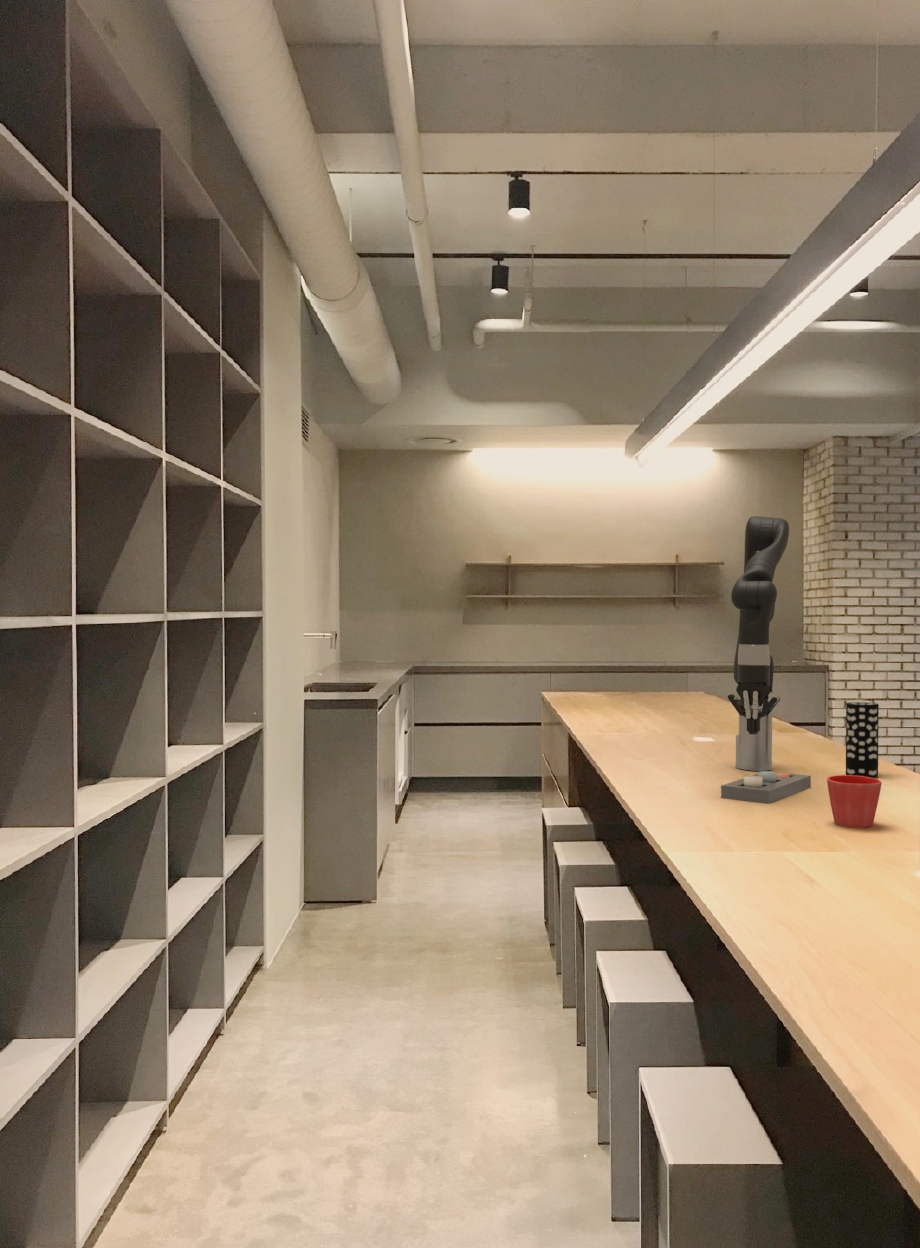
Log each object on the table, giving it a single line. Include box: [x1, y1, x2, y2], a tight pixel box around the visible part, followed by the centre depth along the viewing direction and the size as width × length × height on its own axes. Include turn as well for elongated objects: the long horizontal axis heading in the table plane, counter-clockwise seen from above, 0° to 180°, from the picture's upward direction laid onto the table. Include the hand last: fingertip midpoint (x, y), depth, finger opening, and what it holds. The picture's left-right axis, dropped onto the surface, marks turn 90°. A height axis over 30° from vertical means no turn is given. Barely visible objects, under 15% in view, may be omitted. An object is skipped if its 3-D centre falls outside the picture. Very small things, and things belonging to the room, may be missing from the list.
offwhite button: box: [743, 775, 762, 788], centre depth 250 cm, size 4×4×3 cm
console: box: [720, 772, 812, 804], centre depth 258 cm, size 12×28×3 cm, turn 142°
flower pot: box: [826, 774, 883, 829], centre depth 220 cm, size 11×11×10 cm
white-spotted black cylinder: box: [845, 701, 880, 779], centre depth 282 cm, size 8×8×20 cm
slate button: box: [757, 770, 777, 783], centre depth 258 cm, size 4×4×3 cm
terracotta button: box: [775, 771, 791, 778], centre depth 265 cm, size 4×4×3 cm
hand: (753, 734), depth 250 cm, fingers closed
